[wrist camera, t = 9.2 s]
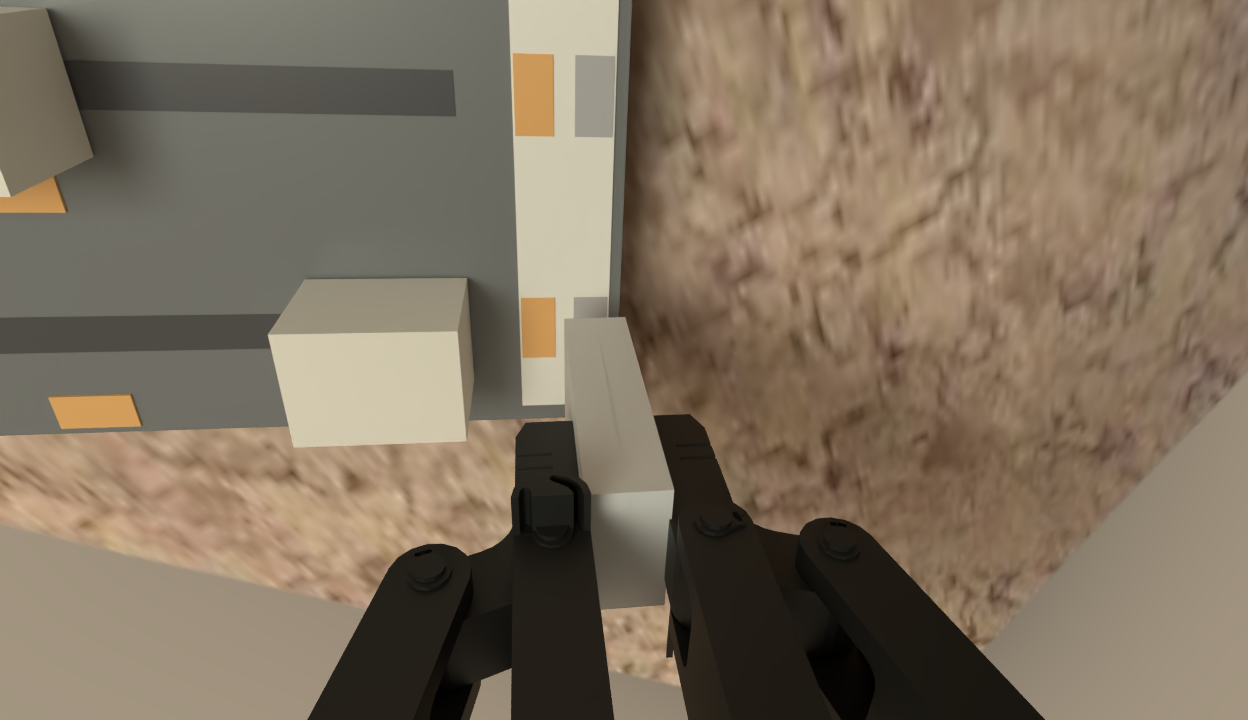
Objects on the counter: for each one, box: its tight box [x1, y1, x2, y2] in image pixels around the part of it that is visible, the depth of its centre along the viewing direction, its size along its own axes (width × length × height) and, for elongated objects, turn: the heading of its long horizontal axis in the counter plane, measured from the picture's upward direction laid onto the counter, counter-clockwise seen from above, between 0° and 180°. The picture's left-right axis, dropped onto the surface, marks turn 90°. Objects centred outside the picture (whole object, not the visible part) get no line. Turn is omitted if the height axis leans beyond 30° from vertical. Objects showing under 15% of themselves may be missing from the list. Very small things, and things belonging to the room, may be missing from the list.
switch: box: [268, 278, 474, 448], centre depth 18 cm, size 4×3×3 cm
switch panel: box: [0, 0, 632, 436], centre depth 17 cm, size 22×18×3 cm
